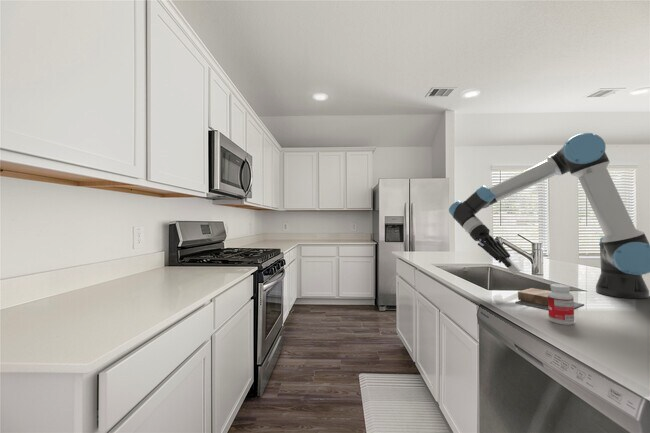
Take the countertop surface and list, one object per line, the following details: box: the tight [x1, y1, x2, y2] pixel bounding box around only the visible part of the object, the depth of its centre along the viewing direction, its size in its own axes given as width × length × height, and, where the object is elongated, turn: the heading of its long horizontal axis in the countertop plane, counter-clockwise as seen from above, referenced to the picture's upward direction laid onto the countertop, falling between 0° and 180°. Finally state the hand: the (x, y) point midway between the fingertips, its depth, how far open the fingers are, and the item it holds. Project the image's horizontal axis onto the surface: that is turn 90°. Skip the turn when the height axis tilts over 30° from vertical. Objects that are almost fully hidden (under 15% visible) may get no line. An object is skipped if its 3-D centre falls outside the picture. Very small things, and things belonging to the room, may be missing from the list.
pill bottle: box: [548, 283, 575, 326], centre depth 91 cm, size 6×6×11 cm
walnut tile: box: [517, 287, 551, 306], centre depth 110 cm, size 3×10×13 cm
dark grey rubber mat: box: [514, 300, 585, 311], centre depth 109 cm, size 15×16×1 cm
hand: (517, 272), depth 118 cm, fingers closed
